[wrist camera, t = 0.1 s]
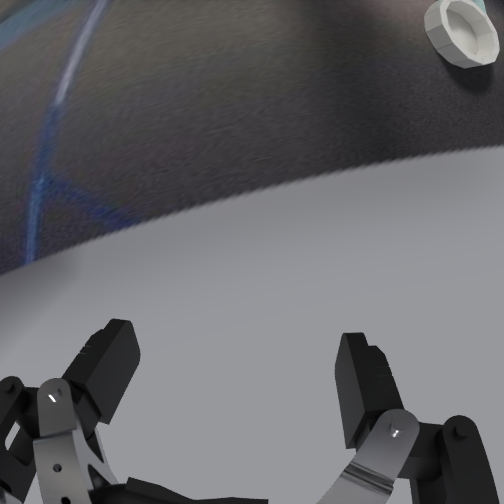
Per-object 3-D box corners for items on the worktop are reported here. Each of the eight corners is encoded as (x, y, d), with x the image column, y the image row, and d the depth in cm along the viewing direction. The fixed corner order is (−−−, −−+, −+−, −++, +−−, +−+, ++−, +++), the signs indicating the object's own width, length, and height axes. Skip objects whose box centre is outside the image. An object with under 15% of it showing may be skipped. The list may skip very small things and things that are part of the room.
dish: (420, -4, 23) (434, -16, 18) (475, 18, 22) (492, 11, 18) (428, 56, 27) (445, 49, 23) (483, 75, 26) (502, 73, 22)
